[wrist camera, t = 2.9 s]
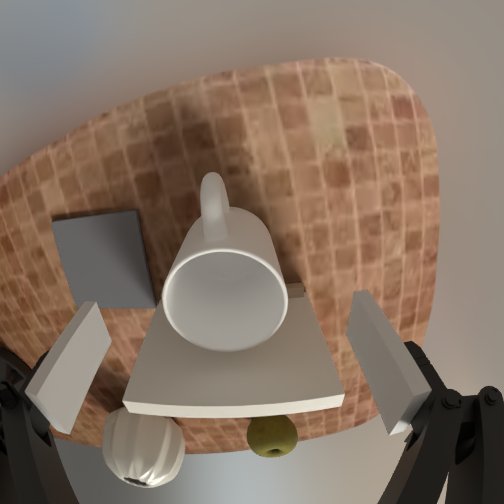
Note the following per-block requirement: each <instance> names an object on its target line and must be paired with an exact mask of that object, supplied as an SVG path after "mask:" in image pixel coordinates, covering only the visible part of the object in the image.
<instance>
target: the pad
mask: <svg viewBox="0 0 504 504" xmlns="http://www.w3.org/2000/svg"><path fill="white" fill-rule="evenodd" d="M51 225H52V229H53V233H54V237H55V241H56V245H57V249H58V252H59V256H60V259H61V262H62V266H63V269H64V272H65V275H66V278H67V281H68V284H69V287H70V290H71V293H72V295H73V298H74V301H75V303H76V306H77V307H79V308H80V307H81V306H82V305H83V303H84V302H85V301H94V302H97V305H98V308H157V302H156V298H155V294H154V290H153V285H152V281H151V277H150V272H149V268H148V263H147V258H146V253H145V248H144V243H143V238H142V232H141V227H140V221H139V215H138V210H129V211H120V212H112V213H104V214H96V215H89V216H82V217H75V218H68V219H61V220H55V221H52V222H51Z"/></svg>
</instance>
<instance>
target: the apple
mask: <svg viewBox="0 0 504 504" xmlns="http://www.w3.org/2000/svg"><path fill="white" fill-rule="evenodd" d="M297 440H298V434H297V430H296V427H295V425H294V424H293V422H292V421H291V420H290V419H289V418H288V417H286V416H285V415H272V416H259V417H254V419H253V420H252V421H251V423H250V425H249V427H248V430H247V441H248V444H249V446H250V448H251V449H252V451H254V452H255V453H256V454H258V455H259V456H263V457H280V456H283V455H286V454H288V453H289V452H291V451H292V450H293V449H294V447H295V446H296V444H297Z"/></svg>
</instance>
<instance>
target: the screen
mask: <svg viewBox="0 0 504 504" xmlns="http://www.w3.org/2000/svg"><path fill="white" fill-rule="evenodd" d="M285 286H286V289H287V294H288V307H287V312H286V315H285V318H284V320H283V322H282V324H281V326H280V327H279V328H278V330H277V331H276V332H275V333H274V334H273V335H272V336H271V337H270V338H268V339H267V340H266V341H264V342H262V343H261V344H259V345H257V346H255V347H252V348H249V349H246V350H241V351H235V352H219V351H213V350H208V349H205V348H202V347H199V346H197V345H195V344H193V343H191V342H189V341H188V340H186V339H185V338H183V337H182V336H181V335H180V334H179V333H178V332H177V331H176V330H175V329H174V328H173V327H172V325H171V324H170V322H169V321H168V319H167V317H166V314H165V312H164V308H163V303H162V292H161V294H160V297H161V299H160V301H159V303H158V306H157V308H156V310H155V313H154V315H153V318H152V320H151V323H150V325H149V328H148V330H147V333H146V336H145V338H144V341H143V343H142V346H141V349H140V351H139V354H138V357H137V360H136V362H135V365H134V368H133V371H132V373H131V376H130V379H129V382H128V385H127V388H126V391H125V394H124V397H123V400H122V401H123V403H124V404H125V406H126V408H127V409H128V411H129V412H130V413H138V414H147V415H157V416H170V417H189V418H240V417H259V416H272V415H283V414H292V413H300V412H308V411H315V410H321V409H327V408H333V407H339V406H341V404H342V402H343V399H344V396H345V392H344V390H343V387H342V384H341V381H340V378H339V376H338V373H337V370H336V367H335V365H334V362H333V359H332V357H331V354H330V351H329V349H328V346H327V343H326V341H325V338H324V335H323V333H322V330H321V328H320V325H319V322H318V320H317V317H316V315H315V312H314V310H313V307H312V304H311V302H310V299H309V297H308V294H307V292H304V285H303V283H289V284H285ZM162 291H163V290H162Z"/></svg>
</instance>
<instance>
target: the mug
mask: <svg viewBox="0 0 504 504" xmlns="http://www.w3.org/2000/svg"><path fill="white" fill-rule="evenodd" d="M200 202H201V217H199V218H198V219H197V220H196V221H195V222H194V224H193V225H192V226H191V228H190V229H189V231H188V233H187V235H186V237H185V239H184V241H183V243H182V246H181V248H180V250H179V252H178V254H177V256H176V258H175V260H174V263H173V265H172V267H171V269H170V271H169V273H168V276H167V278H166V280H165V283H164V286H163V291H162V303H163V308H164V312H165V314H166V317H167V319H168V321H169V322H170V324H171V325H172V327H173V328H174V329H175V330H176V331H177V332H178V333H179V334H180V335H181V336H182V337H183V338H185V339H186V340H188V341H189V342H191V343H193V344H195V345H197V346H199V347H202V348H205V349H208V350H213V351H219V352H235V351H241V350H246V349H249V348H252V347H255V346H257V345H259V344H261V343H262V342H264V341H266V340H267V339H268V338H270V337H271V336H272V335H273V334H274V333H275V332H276V331H277V330H278V328H279V327H280V326H281V324H282V322H283V320H284V318H285V315H286V312H287V307H288V294H287V289H286V286H285V282H284V279H283V276H282V272H281V269H280V266H279V262H278V259H277V255H276V252H275V249H274V246H273V242H272V239H271V236H270V234H269V232H268V229H267V228H266V226H265V225H264V223H263V222H262V221H261V220H260V219H259V218H258V217H257V216H255V215H254V214H252V213H251V212H249V211H247V210H244V209H241V208H237V207H229V201H228V197H227V192H226V188H225V185H224V182H223V180H222V177H221V176H220V175H219V174H218V173H215V172H210V173H208V174H206V175H205V176H204V178H203V180H202V183H201V191H200Z"/></svg>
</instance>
